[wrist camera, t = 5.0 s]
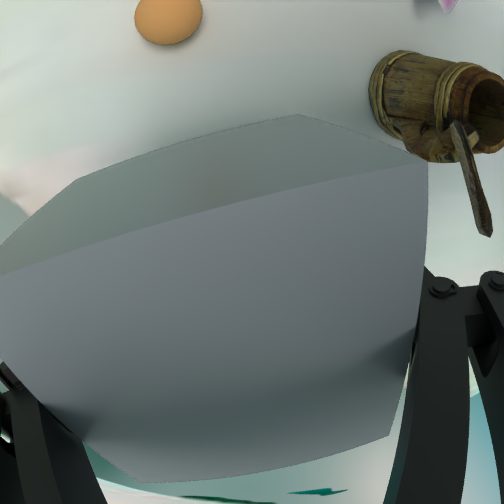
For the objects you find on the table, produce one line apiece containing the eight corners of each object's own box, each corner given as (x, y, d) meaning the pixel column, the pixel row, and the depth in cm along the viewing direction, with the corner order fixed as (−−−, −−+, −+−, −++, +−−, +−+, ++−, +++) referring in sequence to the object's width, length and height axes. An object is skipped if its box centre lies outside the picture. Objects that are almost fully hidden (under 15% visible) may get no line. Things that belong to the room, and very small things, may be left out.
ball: (196, -11, 18) (193, -32, 14) (209, 39, 21) (208, 26, 16) (137, 6, 18) (121, -10, 14) (149, 56, 21) (135, 49, 16)
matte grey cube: (298, 114, 12) (427, 161, 5) (326, 301, 17) (388, 435, 10) (75, 179, 12) (-45, 293, 5) (154, 343, 17) (139, 482, 10)
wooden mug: (310, 103, 24) (457, 138, 9) (416, 38, 21) (575, 39, 6) (360, 182, 28) (492, 290, 13) (453, 113, 25) (596, 166, 10)
